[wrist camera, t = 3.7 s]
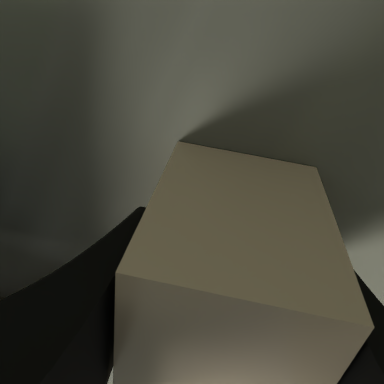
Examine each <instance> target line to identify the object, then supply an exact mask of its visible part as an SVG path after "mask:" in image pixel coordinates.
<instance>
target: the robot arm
mask: <svg viewBox="0 0 384 384" xmlns="http://www.w3.org/2000/svg"><path fill="white" fill-rule="evenodd" d="M145 209H146V208H145V207H139V208H137V209H136V210H135V211H134V212H133V213H131V214H130V215H129V216H128V217H127V218H126V219H125V220H123V221H122V222H121V223H120V224H119V225H118V226H116V227H115V228H114V229H113V230H112V231H110V232H109V233H108V234H107V235H105V236H104V237H103V238H101V239H100V240H99V241H98V242H96V243H95V244H94V245H92V246H91V247H90V248H88V249H87V250H85V251H84V252H83V253H81V254H80V255H78V256H77V257H75V258H74V259H73V260H71V261H70V262H68V263H67V264H65V265H64V266H62V267H61V268H59V269H57V270H56V271H54V272H53V273H51V274H49V275H48V276H46V277H44V278H42V279H41V280H39V281H37V282H36V283H34V284H32V285H30V286H28V287H26V288H25V289H23V290H21V291H19V292H17V293H15V294H13V295H11V296H9V297H7V298H5V299H3V300H1V301H0V384H107V382H108V379H109V376H110V373H111V371H112V368H113V365H114V318H115V272H116V270H117V268H118V266H119V264H120V262H121V260H122V258H123V256H124V254H125V251H126V249H127V247H128V245H129V243H130V241H131V239H132V237H133V235H134V233H135V230H136V228H137V226H138V224H139V222H140V220H141V218H142V216H143V214H144V212H145ZM354 272H355V271H354ZM355 275H356V278H357V281H358V283H359V286H360V289H361V292H362V294H363V297H364V300H365V303H366V306H367V308H368V311H369V314H370V317H371V319H372V322H373V325H374V329H373V330H372V332H371V333H370V335H369V336H368V338H367V339H366V341H365V342H364V344H363V345H362V347H361V348H360V350H359V351H358V353H357V354H356V356H355V357H354V359H353V360H352V362H351V363H350V365H349V366H348V368H347V369H346V371H345V372H344V374H343V375H342V377H341V378H340V380H339V381H338V383H337V384H384V306H383V305H382V303H381V302H380V301H379V300H378V299H377V298H376V296H375V295H374V294H373V293H372V292H371V290H370V289H369V288H368V287H367V286H366V284H365V283H364V282H363V281H362V279H361V278H360V277H359V276H358V274H357V273H356V272H355Z"/></svg>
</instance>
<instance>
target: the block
mask: <svg viewBox="0 0 384 384" xmlns="http://www.w3.org/2000/svg"><path fill="white" fill-rule="evenodd" d="M373 329H374V325H373V322H372V319H371V317H370V314H369V311H368V308H367V306H366V303H365V300H364V297H363V294H362V292H361V289H360V286H359V283H358V281H357V278H356V275H355V272H354V270H353V267H352V264H351V261H350V259H349V256H348V253H347V250H346V248H345V245H344V242H343V239H342V237H341V234H340V231H339V228H338V226H337V223H336V220H335V217H334V215H333V212H332V209H331V206H330V204H329V201H328V198H327V195H326V192H325V190H324V187H323V184H322V181H321V179H320V176H319V173H318V170H317V168H316V167H312V166H307V165H301V164H296V163H291V162H285V161H280V160H275V159H270V158H264V157H259V156H254V155H248V154H243V153H238V152H232V151H227V150H222V149H216V148H211V147H206V146H200V145H195V144H190V143H184V142H179V141H178V142H177V144H176V147H175V149H174V151H173V153H172V155H171V157H170V159H169V161H168V163H167V165H166V168H165V170H164V172H163V174H162V176H161V178H160V180H159V182H158V184H157V186H156V189H155V191H154V193H153V195H152V197H151V199H150V201H149V203H148V205H147V207H146V209H145V212H144V214H143V216H142V218H141V220H140V222H139V224H138V226H137V228H136V230H135V233H134V235H133V237H132V239H131V241H130V243H129V245H128V247H127V249H126V251H125V254H124V256H123V258H122V260H121V262H120V264H119V266H118V268H117V270H116V272H115V318H114V365H113V384H337V383H338V381H339V380H340V378H341V377H342V375H343V374H344V372H345V371H346V369H347V368H348V366H349V365H350V363H351V362H352V360H353V359H354V357H355V356H356V354H357V353H358V351H359V350H360V348H361V347H362V345H363V344H364V342H365V341H366V339H367V338H368V336H369V335H370V333H371V332H372V330H373Z"/></svg>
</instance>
